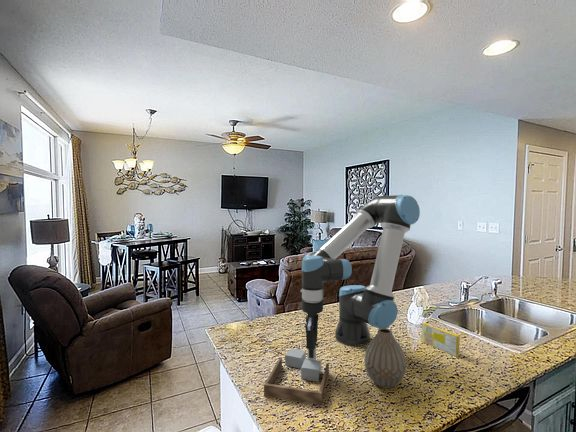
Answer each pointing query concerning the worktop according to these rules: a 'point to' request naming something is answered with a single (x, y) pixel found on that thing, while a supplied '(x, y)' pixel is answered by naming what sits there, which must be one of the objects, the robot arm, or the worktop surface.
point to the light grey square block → (311, 370)
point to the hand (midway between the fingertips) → (311, 365)
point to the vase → (385, 359)
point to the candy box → (440, 339)
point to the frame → (292, 392)
